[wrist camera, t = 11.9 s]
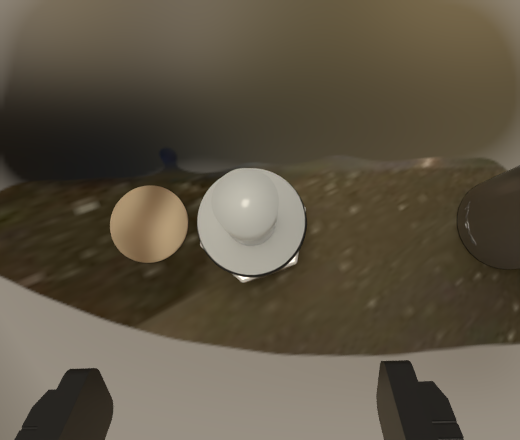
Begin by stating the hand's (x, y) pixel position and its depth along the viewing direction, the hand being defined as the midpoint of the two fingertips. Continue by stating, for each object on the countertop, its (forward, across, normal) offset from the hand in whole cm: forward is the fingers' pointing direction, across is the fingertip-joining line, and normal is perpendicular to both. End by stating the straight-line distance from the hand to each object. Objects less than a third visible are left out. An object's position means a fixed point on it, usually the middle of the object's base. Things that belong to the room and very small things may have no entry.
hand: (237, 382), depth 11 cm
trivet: (+27, +13, +12) cm, 32 cm away
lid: (+18, +1, +6) cm, 18 cm away
